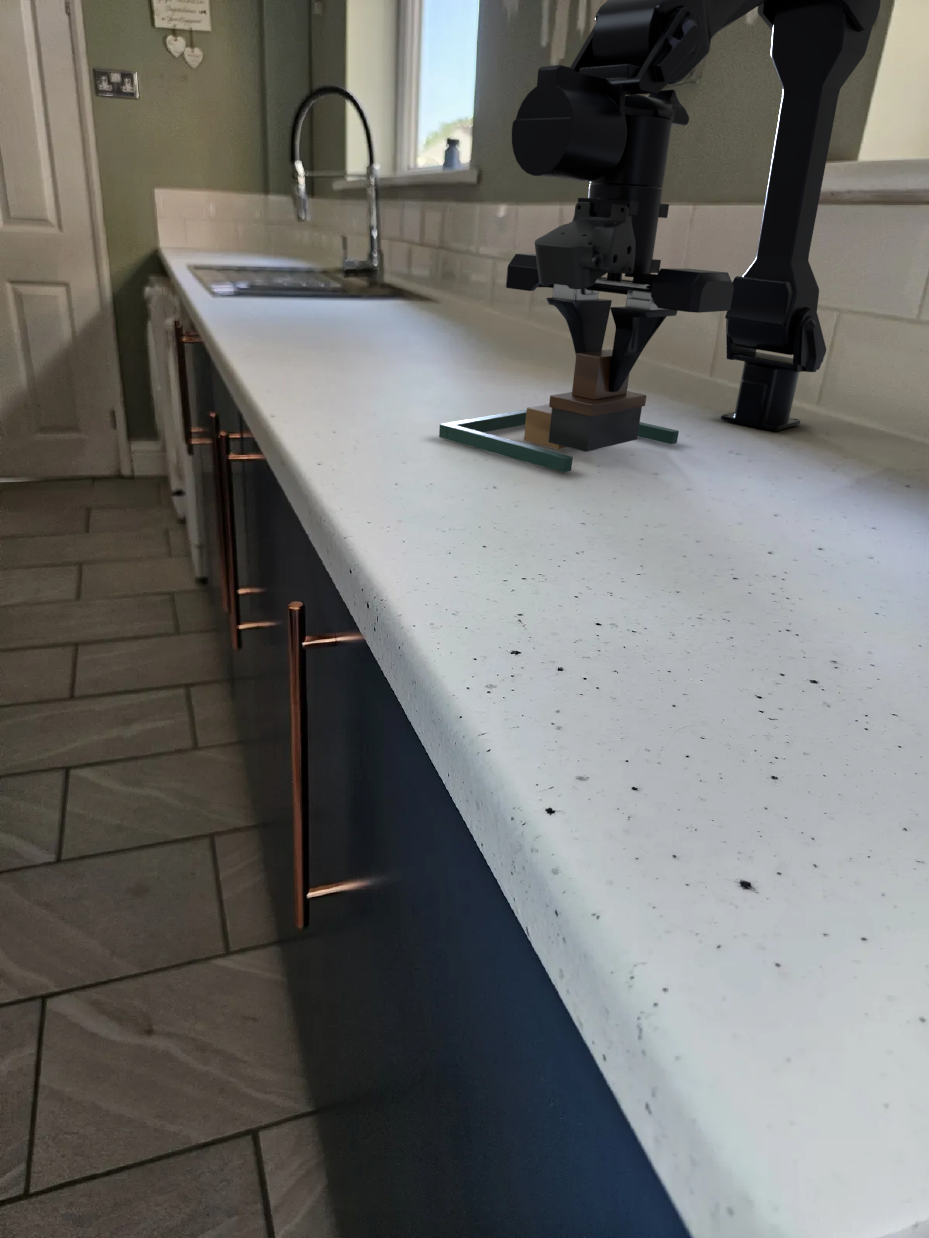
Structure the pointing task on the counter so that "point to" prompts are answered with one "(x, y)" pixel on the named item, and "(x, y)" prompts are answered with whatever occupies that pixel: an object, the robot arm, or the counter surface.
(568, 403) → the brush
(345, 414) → the counter surface
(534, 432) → the cork block
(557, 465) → the frame
